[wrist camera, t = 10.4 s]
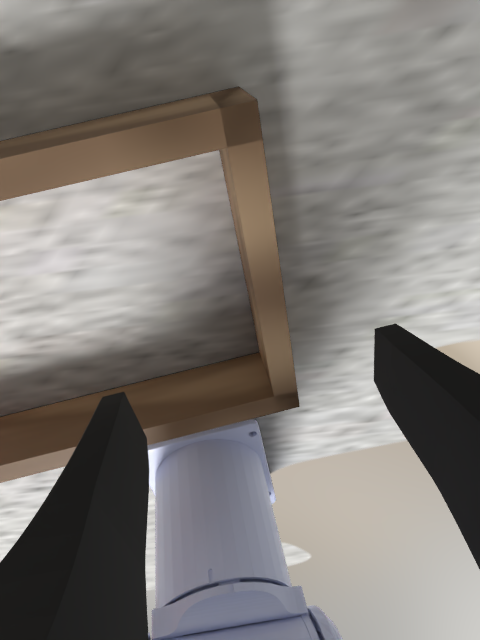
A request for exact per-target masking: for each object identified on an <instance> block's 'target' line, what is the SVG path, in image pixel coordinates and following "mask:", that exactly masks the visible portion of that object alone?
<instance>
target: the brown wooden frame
mask: <svg viewBox="0 0 480 640" xmlns="http://www.w3.org/2000/svg"><path fill="white" fill-rule="evenodd" d="M216 150H219V151H220V156H221V161H222V166H223V171H224V176H225V181H226V186H227V191H228V196H229V201H230V206H231V211H232V216H233V221H234V226H235V231H236V236H237V241H238V246H239V251H240V256H241V261H242V266H243V271H244V276H245V281H246V286H247V291H248V296H249V301H250V306H251V311H252V316H253V321H254V326H255V331H256V337H257V342H258V347H259V353H255V354H251V355H247V356H243V357H239V358H235V359H231V360H227V361H223V362H219V363H215V364H211V365H207V366H203V367H199V368H195V369H191V370H187V371H183V372H179V373H175V374H171V375H167V376H163V377H159V378H155V379H151V380H147V381H143V382H139V383H135V384H131V385H127V386H123V387H119V388H115V389H110V390H106V391H102V392H98V393H94V394H90V395H86V396H82V397H78V398H74V399H70V400H66V401H62V402H58V403H54V404H50V405H46V406H42V407H38V408H34V409H30V410H26V411H22V412H18V413H14V414H10V415H6V416H2V417H0V483H1V482H5V481H9V480H13V479H17V478H21V477H25V476H29V475H33V474H37V473H41V472H45V471H49V470H53V469H56V468H60V467H64V466H66V465H67V463H68V461H69V459H70V457H71V456H72V454H73V452H74V450H75V448H76V447H77V445H78V443H79V441H80V439H81V437H82V435H83V433H84V431H85V429H86V428H87V426H88V424H89V422H90V420H91V418H92V416H93V414H94V412H95V410H96V408H97V406H98V404H99V402H100V400H101V399H102V397H104V396H108V395H112V394H116V393H120V392H125V394H126V396H127V398H128V401H129V403H130V405H131V407H132V409H133V411H134V413H135V415H136V417H137V419H138V421H139V423H140V425H141V427H142V429H143V431H144V433H145V435H146V437H147V445H151V444H155V443H159V442H163V441H166V440H170V439H174V438H178V437H182V436H186V435H190V434H194V433H198V432H202V431H206V430H210V429H214V428H217V427H221V426H225V425H229V424H233V423H237V422H241V421H245V420H249V419H253V418H257V417H261V416H265V415H269V414H272V413H276V412H280V411H284V410H288V409H292V408H296V407H299V399H298V392H297V385H296V378H295V370H294V363H293V356H292V349H291V342H290V334H289V327H288V320H287V313H286V305H285V298H284V291H283V284H282V276H281V269H280V262H279V255H278V247H277V240H276V233H275V226H274V218H273V211H272V204H271V197H270V189H269V182H268V175H267V168H266V160H265V153H264V146H263V139H262V131H261V124H260V117H259V110H258V102H257V99H255V98H254V97H253V96H251V95H250V94H248V93H247V92H246V91H244V90H243V89H241V88H240V87H235V88H231V89H227V90H222V91H218V92H214V93H209V94H205V95H200V96H196V97H192V98H187V99H183V100H179V101H174V102H170V103H165V104H161V105H157V106H152V107H148V108H144V109H139V110H135V111H130V112H126V113H122V114H117V115H113V116H109V117H104V118H100V119H95V120H91V121H87V122H82V123H78V124H74V125H69V126H65V127H60V128H56V129H52V130H47V131H43V132H39V133H34V134H30V135H25V136H21V137H17V138H12V139H8V140H4V141H0V201H2V200H6V199H10V198H15V197H19V196H23V195H28V194H32V193H36V192H40V191H45V190H49V189H53V188H58V187H62V186H66V185H70V184H75V183H79V182H83V181H88V180H92V179H96V178H101V177H105V176H109V175H113V174H118V173H122V172H126V171H131V170H135V169H139V168H143V167H148V166H152V165H156V164H161V163H165V162H169V161H173V160H178V159H182V158H186V157H191V156H195V155H199V154H203V153H208V152H212V151H216Z"/></svg>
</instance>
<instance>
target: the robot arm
mask: <svg viewBox="0 0 480 640" xmlns="http://www.w3.org/2000/svg"><path fill="white" fill-rule="evenodd" d="M374 382H375V384H376V386H377V388H378V390H379V392H380V394H381V397H382V399H383V401H384V403H385V405H386V407H387V409H388V411H389V412H390V414H391V416H392V417H393V419H394V420H395V422H396V423H397V425H398V426H399V428H400V430H401V431H402V433H403V434H404V436H405V437H406V439H407V440H408V442H409V443H410V445H411V447H412V448H413V450H414V451H415V453H416V454H417V455H418V457H419V458H420V460H421V462H422V463H423V465H424V466H425V468H426V469H427V471H428V473H429V474H430V476H431V477H432V479H433V480H434V482H435V484H436V485H437V487H438V489H439V491H440V492H441V494H442V496H443V498H444V500H445V502H446V503H447V505H448V507H449V509H450V511H451V513H452V515H453V517H454V519H455V521H456V523H457V524H458V527H459V529H460V531H461V533H462V535H463V536H464V539H465V541H466V543H467V545H468V547H469V549H470V551H471V553H472V555H473V557H474V559H475V561H476V563H477V565H478V567H479V569H480V374H478V373H476V372H475V371H473V370H471V369H469V368H467V367H466V366H464V365H462V364H460V363H459V362H457V361H455V360H453V359H452V358H450V357H449V356H447V355H445V354H444V353H442V352H440V351H439V350H437V349H435V348H434V347H432V346H431V345H429V344H427V343H426V342H424V341H423V340H421V339H419V338H418V337H416V336H415V335H413V334H412V333H410V332H408V331H407V330H405V329H404V328H402V327H400V326H399V325H397V324H392V325H388V326H384V327H380V328H376V329H375V347H374ZM252 431H253V432H252ZM149 485H150V487H151V489H152V491H153V493H154V494H155V562H156V608H155V609H153V610H152V640H343V639H342V637H341V635H340V633H339V631H338V629H337V627H336V626H335V624H334V623H333V621H332V620H331V619H330V618H328V617H327V616H326V615H325V613H324V612H323V611H322V610H321V609H320V608H319V607H317V606H306V602H305V598H304V594H303V591H302V587H301V586H294V587H292V585H291V582H290V577H289V573H288V569H287V565H286V561H285V557H284V553H283V549H282V545H281V541H280V536H279V533H278V528H277V525H276V520H275V517H274V512H273V508H272V504H273V503H274V502H275V501H276V498H275V493H274V489H273V485H272V480H271V476H270V472H269V467H268V463H267V459H266V455H265V450H264V446H263V442H262V437H261V433H260V429H259V425H258V422H257V421H256V420H253V419H250V420H246V421H242V422H238V423H234V424H230V425H226V426H222V427H218V428H214V429H210V430H206V431H202V432H198V433H194V434H191V435H187V436H183V437H179V438H175V439H171V440H167V441H163V442H159V443H155V444H151V445H147V437H146V435H145V433H144V431H143V429H142V427H141V425H140V423H139V421H138V419H137V417H136V415H135V413H134V411H133V409H132V407H131V405H130V403H129V401H128V398H127V396H126V394H125V392H120V393H116V394H112V395H108V396H104V397H102V399H101V400H100V402H99V404H98V406H97V408H96V410H95V412H94V414H93V416H92V418H91V420H90V422H89V424H88V426H87V428H86V429H85V431H84V433H83V435H82V437H81V439H80V441H79V443H78V445H77V447H76V448H75V450H74V452H73V454H72V456H71V457H70V459H69V461H68V463H67V465H66V467H65V468H64V470H63V472H62V473H61V475H60V477H59V478H58V480H57V482H56V483H55V485H54V487H53V488H52V490H51V492H50V493H49V495H48V496H47V498H46V500H45V501H44V503H43V504H42V506H41V507H40V509H39V510H38V512H37V513H36V515H35V516H34V518H33V519H32V521H31V522H30V524H29V525H28V527H27V528H26V529H25V531H24V532H23V534H22V535H21V536H20V538H19V539H18V541H17V542H16V543H15V545H14V546H13V547H12V548H11V550H10V551H9V552H8V554H7V555H6V556H5V557H4V559H3V560H2V561H1V563H0V640H151V638H150V633H148V622H147V605H146V579H145V550H146V531H147V513H148V493H149Z"/></svg>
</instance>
